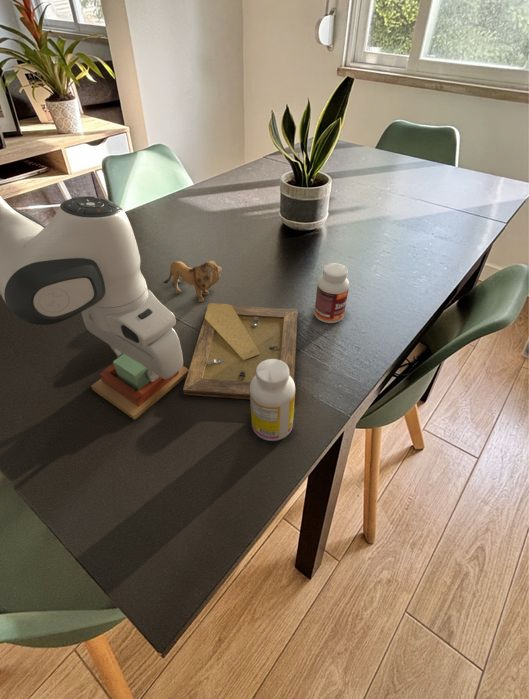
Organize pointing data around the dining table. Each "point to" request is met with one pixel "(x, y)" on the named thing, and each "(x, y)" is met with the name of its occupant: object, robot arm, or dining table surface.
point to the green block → (130, 372)
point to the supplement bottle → (272, 400)
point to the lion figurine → (195, 276)
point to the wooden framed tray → (134, 391)
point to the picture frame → (239, 348)
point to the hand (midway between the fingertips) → (139, 369)
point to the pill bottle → (332, 293)
